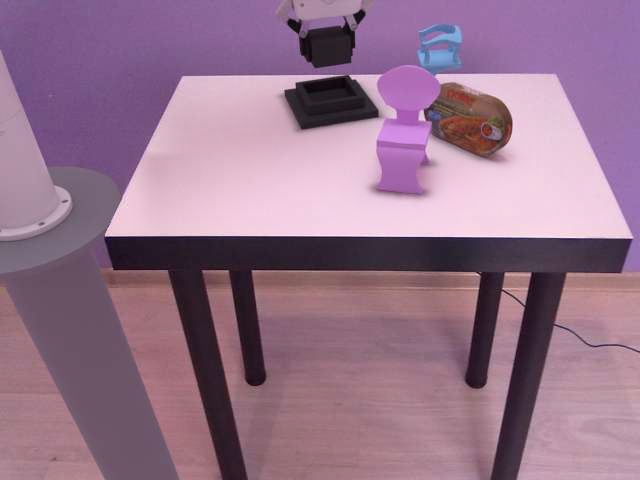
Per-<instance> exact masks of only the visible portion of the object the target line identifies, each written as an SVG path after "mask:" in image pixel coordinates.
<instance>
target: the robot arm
mask: <svg viewBox="0 0 640 480" xmlns="http://www.w3.org/2000/svg"><path fill="white" fill-rule="evenodd" d="M374 6H375V0H282V1H281V3H280V4H279V5H278V7H277V8H276V10H275V11H274V14H275V16H276V18H277V19H278V20H280V21H281V22H282V23H284V24H285V25H286V26H287V27H288V28H289V29H291V30H292V31H293V32H294V33H296V34H297V35H298V44H299V46H298V47H299V54H300V56H301V57H304V59H305V60H306V62H307V64H309V63H311V61H312V53H311V38H310V36H309V35H308V30H310V26H311V22H312V21H317V20H324V19H325V20H327V19H333V18H334V19H335V18H339V17H342V18H343V20H344V24H343V26H341V27H342V28H343V30H344V31H345V32H346V33H347V34H348V36H349V37H350V38H351V57H353V56H354V51H353V49H356V30H358V27H359V25H360V23H362V21H363V20H364V19H365V17H366V16H367V15H366V14H368V13H369V12H370V10H371V9H372V8H373V7H374ZM291 9H292V11H294V14H295V16H296V17H297V19H295V18H294V17H293V16H291V15H290V14H289V12H290V10H291ZM47 167H48V166H47V165H46V162H45V160H44V157H43V155H42V152H41V149H40V146H39V144H38V142H37V139H36V137H35V133H34V132H33V129H32V126H31V124H30V122H29V119H28V116H27V114H26V111H25V108H24V106H23V103H22V102H21V100H20V97H19V95H18V92H17V89H16V87H15V84H14V82H13V79H12V76H11V74H10V71H9V68H8V67H7V64H6V60H5V57H4V55H3V52H2V50H1V49H0V241H17V240H23V239H27V238H31V237H34V236H37V235H40V234H42V233H45V232H47V231H49V230H51V229H53V228H54V227H56V226H57V225H59V224H60V223H61V222H62V221H64V220H65V219H66V218H67V216H68V215H69V214H70V212H71V210H72V207H73V202H72V199H71V196H70V194H69V193H68V192H67V191H66V190H65V189H63V188H61V187H58V186H55V185H53V182H52V179H51V177H50V174H49V172H48V169H47Z"/></svg>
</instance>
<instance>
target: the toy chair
mask: <svg viewBox="0 0 640 480" xmlns="http://www.w3.org/2000/svg"><path fill="white" fill-rule="evenodd" d="M440 84H441V82H440V81H439V79H437V77H436V76H433V75H432V74H431V73H429V72H428V71H426V70H424V69H423V68H420V67H419V66H417V65H412V64H406V65H400V66H396V67H393V68H391V69H390V70H388V71H386V72H384V73H382V75H380V76H379V78H378V79H377V82H376V88H377V91H378V93H379V95H380V97H381V98H382V100H383V102H384V104H385V105H386V106H388V107H390V108H392V109H394V110H395V111H396V118H391V117H385V118H384V120H383V123H382V126H381V128H380V131H379V133H378V135H377V138H376V148H375V152H376V156H377V158H378V162H379V164H380V169H381V177H380V180H379V183H378V184H377V187H376V190H379V191H388V192H396V193H406V194H415V195H423V190H422V188H421V187H420V184H419V181H418V170H419V168H420V166H421V164H423V165H430V164H431V161H430V159H429V156H428V154H427V152H426V149H427V146H428V142H429V137H430V134H431V133H432V131H431V126H432V122H430V121H426V120H420V112H421V111H423V109H426V108H429V106H430V105H431V104H432V103H433V102H434V101H435V100H436V99H437V97H438V96H439V93H440V90H441V86H440Z"/></svg>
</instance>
